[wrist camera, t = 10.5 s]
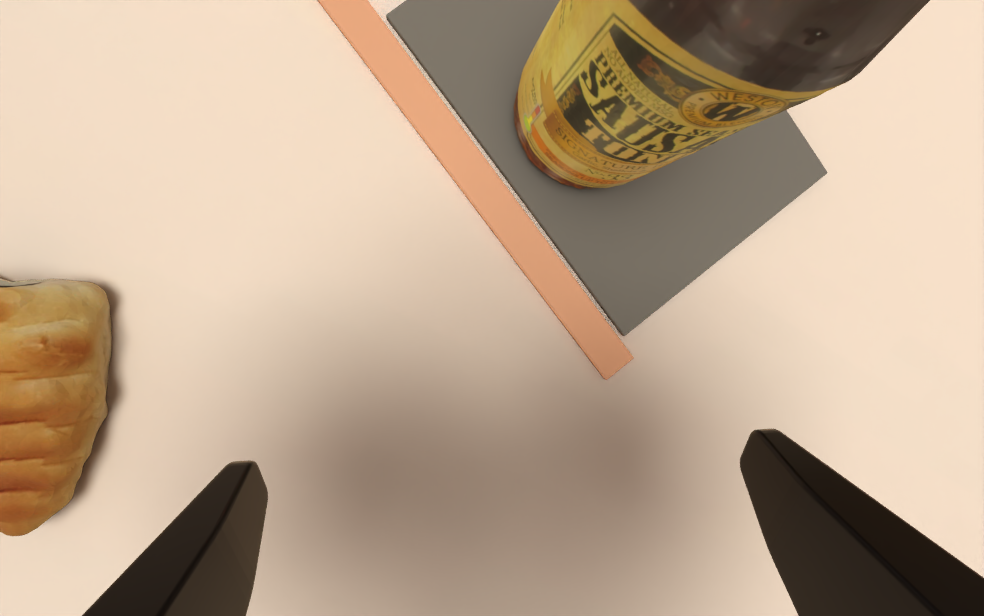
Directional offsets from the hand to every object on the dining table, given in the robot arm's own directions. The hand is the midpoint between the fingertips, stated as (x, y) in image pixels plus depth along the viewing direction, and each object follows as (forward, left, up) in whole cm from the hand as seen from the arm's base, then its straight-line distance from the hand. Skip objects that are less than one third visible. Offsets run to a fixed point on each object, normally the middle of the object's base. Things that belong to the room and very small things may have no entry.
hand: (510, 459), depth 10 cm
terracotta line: (+9, -5, -12) cm, 16 cm away
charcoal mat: (+5, -12, -12) cm, 18 cm away
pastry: (+10, +13, -13) cm, 21 cm away
